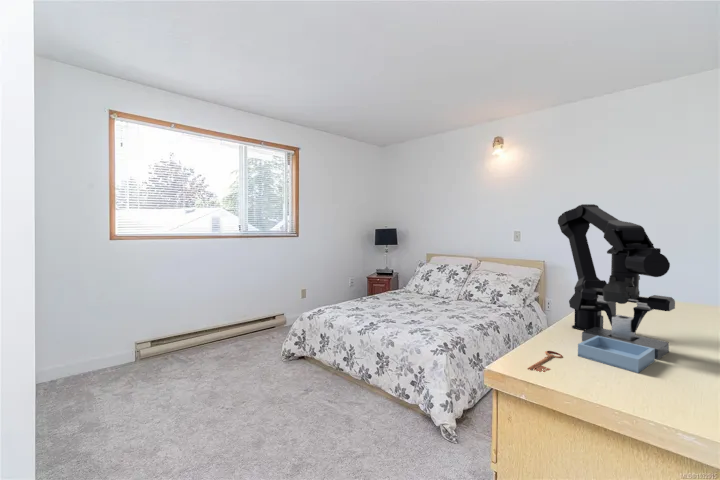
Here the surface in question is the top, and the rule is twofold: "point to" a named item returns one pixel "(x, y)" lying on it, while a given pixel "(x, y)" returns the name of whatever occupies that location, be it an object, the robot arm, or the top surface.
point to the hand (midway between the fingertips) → (623, 330)
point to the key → (544, 361)
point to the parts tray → (617, 353)
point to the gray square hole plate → (658, 345)
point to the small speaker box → (623, 328)
